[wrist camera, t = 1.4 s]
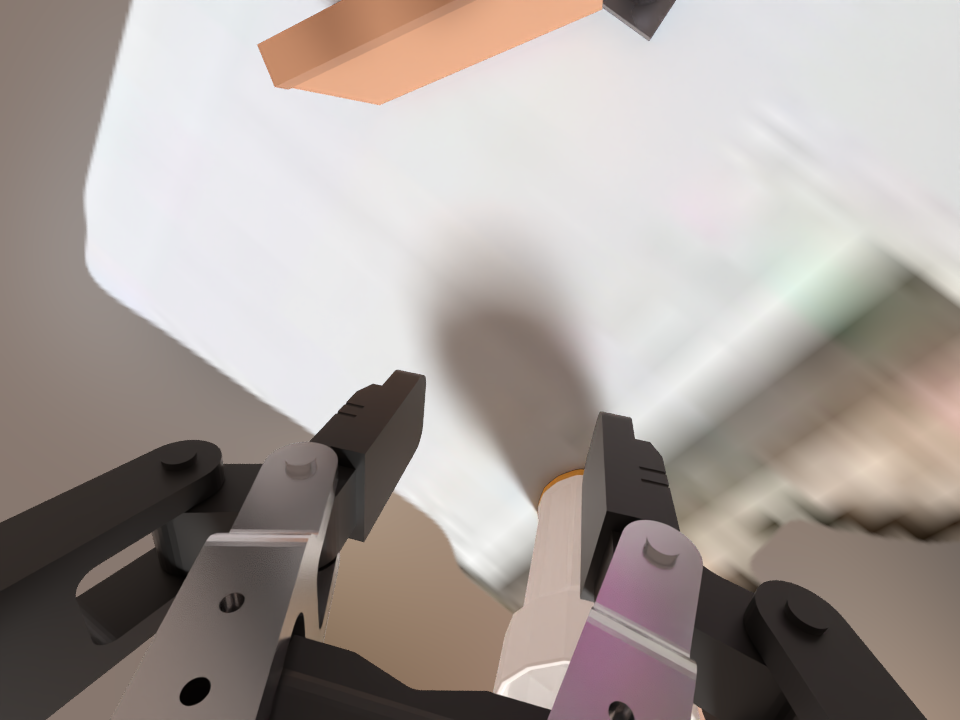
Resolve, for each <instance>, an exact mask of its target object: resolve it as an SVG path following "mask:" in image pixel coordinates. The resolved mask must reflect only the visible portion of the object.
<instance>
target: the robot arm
mask: <svg viewBox="0 0 960 720" xmlns="http://www.w3.org/2000/svg"><path fill="white" fill-rule="evenodd" d="M425 390H426V378H425V376H424V375H421V374H416V373H411V372H406V371H401V370H396V371H394V373H393V374H392V375H391V376H390V377H389V378H388V380H387V381H386V382H385V383H384V384H383V385H382V386H381V385H376V384H372V385H369V386H367V387H365V388H363V389H361V390H359V391H357V392H356V393H355V394H354V395H353V396H352V397H351V398H350V399H349V400H348V401H347V402H346V405H343V407H342V408H341V409H340V410H339V411H338V414H335V415H334V416H333V417H332V418H331V419H330V420H329V421H328V422H327V423H326V425H325V426H324V427H323V428H322V429H321V430H320V431H319V432H318V433H317V434H316V435H315V436H314V437H313V438H312V439H311V440H310V442H299V443H293V444H289V445H286V446H283V447H281V448H279V449H277V450H275V451H274V452H273V453H271V454H270V455H269V456H268V457H267V458H266V459H265V461H264V463H263V464H223V460H222V453H221V451H220V449H219V448H218V447H217V446H216V445H215V444H213V443H210V442H207V441H200V440H185V441H179V442H175V443H171V444H167V445H164V446H162V447H159V448H157V449H155V450H153V451H151V452H149V453H147V454H144V455H142V456H140V457H138V458H136V459H134V460H132V461H130V462H128V463H125V464H123V465H121V466H119V467H117V468H115V469H113V470H111V471H109V472H106V473H104V474H102V475H100V476H98V477H96V478H94V479H92V480H90V481H87V482H85V483H83V484H81V485H79V486H77V487H75V488H73V489H71V490H69V491H67V492H64V493H62V494H60V495H58V496H56V497H54V498H52V499H50V500H48V501H45V502H43V503H41V504H39V505H37V506H35V507H33V508H31V509H28V510H26V511H24V512H22V513H20V514H18V515H16V516H14V517H12V518H9V519H7V520H5V521H3V522H1V523H0V720H46V719H47V718H49V717H50V716H51V715H52V714H54V713H55V712H56V711H57V710H59V709H60V708H61V707H63V706H64V705H65V704H66V703H67V702H69V701H70V700H71V699H73V698H74V697H75V696H77V695H78V694H79V693H80V692H82V691H83V690H84V689H85V688H87V687H88V686H89V685H91V684H92V683H93V682H94V681H96V680H97V679H98V678H100V677H101V676H102V675H103V674H105V673H106V672H107V671H108V670H110V669H111V668H112V667H113V666H115V665H116V664H117V663H119V662H120V661H121V660H122V659H124V658H125V657H126V656H128V655H129V654H130V653H131V652H133V651H134V650H135V649H137V648H138V647H139V646H140V645H141V644H143V643H144V642H145V641H147V640H148V639H149V638H151V637H152V636H153V635H154V634H155V636H154V638H153V640H152V642H151V644H150V646H149V647H148V650H147V651H146V653H145V655H144V657H143V659H142V661H141V662H140V664H139V666H138V668H137V670H136V672H135V674H134V676H133V677H132V679H131V681H130V683H129V685H128V687H127V688H126V690H125V692H124V694H123V696H122V698H121V700H120V701H119V704H118V705H117V707H116V709H115V711H114V713H113V714H112V716H111V718H110V720H691V714H692V707H693V704H695V705H697V706H698V707H700V708H702V712H703V715H704V717H705V720H927V719H926V718H925V716H924V715H923V714H922V713H921V712H920V711H919V709H918V708H917V707H916V706H915V704H914V703H913V702H912V701H911V700H910V698H909V697H908V696H907V695H906V693H905V692H904V691H903V690H902V689H901V687H900V686H899V685H898V684H897V683H896V681H895V680H894V679H893V678H892V676H891V675H890V674H889V673H888V672H887V670H886V669H885V668H884V667H883V665H882V664H881V663H880V662H879V661H878V660H877V658H876V657H875V656H874V655H873V653H872V652H871V651H870V650H869V648H868V647H867V646H866V645H865V644H864V642H863V641H862V640H861V639H860V638H859V636H858V635H857V634H856V633H855V631H854V630H853V629H852V628H851V627H850V625H849V624H848V623H847V622H846V621H845V619H844V618H843V617H842V616H841V615H840V614H839V613H838V612H837V611H836V610H835V609H834V608H833V607H832V606H831V605H830V604H829V603H827V602H826V601H825V600H823V599H822V598H820V597H819V596H817V595H816V594H814V593H813V592H811V591H809V590H807V589H805V588H803V587H801V586H798V585H796V584H792V583H789V582H785V581H777V580H775V581H767V582H764V583H762V584H761V585H760V586H759V587H758V588H757V590H756V592H755V594H754V593H752V592H750V591H748V590H746V589H744V588H742V587H740V586H738V585H736V584H734V583H732V582H730V581H728V580H726V579H724V578H722V577H720V576H718V575H716V574H714V573H713V572H711V571H710V570H708V569H707V568H706V567H704V566H703V561H702V557H701V555H700V552H699V551H698V549H697V548H696V546H695V545H694V544H693V543H692V541H691V540H689V539H688V538H687V537H686V536H685V535H684V534H682V533H681V532H680V529H679V525H678V521H677V517H676V513H675V508H674V504H673V500H672V496H671V492H670V488H668V486H669V483H668V479H667V475H665V474H666V471H665V467H664V462H663V458H662V456H661V455H660V454H659V452H658V451H657V450H656V449H655V448H654V446H653V445H652V444H651V443H650V442H647V441H642V440H637V439H635V437H634V430H633V424H632V419H631V418H630V417H625V416H620V415H615V414H611V413H606V412H600V413H599V415H598V418H597V422H596V426H595V430H594V433H593V437H592V441H591V445H590V449H589V452H588V456H587V460H586V464H585V469H584V474H583V481H582V510H581V565H580V599H583V600H587V601H590V602H594V606H592V608H591V610H590V613H589V615H588V617H587V620H586V623H585V625H584V628H583V630H582V633H581V635H580V638H579V640H578V643H577V645H576V648H575V651H574V653H573V656H572V658H571V661H570V663H569V666H568V668H567V671H566V673H565V676H564V679H563V681H562V684H561V686H560V689H559V691H558V694H557V696H556V699H555V702H554V704H553V707H552V709H551V710H550V709H547V708H543V707H540V706H536V705H533V704H530V703H526V702H523V701H519V700H516V699H512V698H509V697H506V696H502V695H499V694H495V693H492V692H489V691H435V690H427V691H426V690H415V689H412V688H410V687H408V686H406V685H405V684H403V683H401V682H400V681H398V680H397V679H395V678H394V677H392V676H391V675H389V674H388V673H386V672H384V671H383V670H381V669H380V668H378V667H377V666H375V665H374V664H372V663H371V662H369V661H368V660H366V659H364V658H363V657H361V656H360V655H358V654H357V653H355V652H352V651H349V650H345V649H342V648H339V647H335V646H332V645H328V644H325V643H323V642H324V637H325V632H326V626H327V622H328V617H329V612H330V607H331V602H332V597H333V592H334V588H335V583H336V578H337V573H338V568H339V563H340V550H341V549H342V547H343V545H344V543H345V542H346V540H347V539H348V538H350V539H354V540H358V541H362V542H364V541H365V540H366V538H367V536H368V534H369V533H370V531H371V529H372V527H373V525H374V524H375V522H376V520H377V518H378V517H379V515H380V513H381V511H382V510H383V508H384V506H385V504H386V502H387V501H388V499H389V497H390V496H391V494H392V492H393V490H394V488H395V487H396V485H397V483H398V481H399V480H400V478H401V476H402V474H403V473H404V471H405V469H406V467H407V465H408V464H409V462H410V460H411V458H412V457H413V455H414V453H415V451H416V449H417V447H418V445H419V442H420V438H421V434H422V429H423V417H424V403H425ZM151 532H152V536H153V540H154V544H155V548H153V549H152V550H150V551H149V552H147V553H146V554H144V555H142V556H141V557H139V558H138V559H136V560H134V561H133V562H132V563H130V564H128V565H127V566H125V567H124V568H122V569H120V570H119V571H117V572H116V573H114V574H113V575H111V576H110V577H108V578H106V579H105V580H103V581H102V582H100V583H98V584H97V585H95V586H94V587H92V588H91V589H89V590H88V591H86V592H85V593H83V594H81V595H80V596H78V597H76V595H75V594H76V589H77V587H78V584H79V583H80V581H81V580H82V579H83V577H84V576H85V575H86V574H87V573H88V572H89V571H90V570H92V569H93V568H94V567H96V566H97V565H99V564H101V563H102V562H104V561H105V560H107V559H109V558H110V557H112V556H114V555H115V554H117V553H118V552H120V551H122V550H123V549H125V548H127V547H128V546H130V545H132V544H133V543H135V542H137V541H138V540H140V539H141V538H143V537H145V536H146V535H148V534H150V533H151Z"/></svg>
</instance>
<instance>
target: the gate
mask: <svg viewBox="0 0 960 720" xmlns="http://www.w3.org/2000/svg"><path fill="white" fill-rule="evenodd" d="M602 4H603V0H342V1H340V2H338V3H336V4H334V5H332V6H330V7H328V8H326V9H324V10H323V11H321V12H319V13H317V14H315V15H313V16H311V17H309V18H307V19H305V20H303V21H302V22H300V23H298V24H296V25H294V26H292V27H290V28H288V29H286V30H284V31H282V32H281V33H279V34H277V35H275V36H273V37H271V38H269V39H267V40H265V41H263V42H261V43H260V44H258V48H259V50H260V52H261V55H262V57H263V60H264V62H265V64H266V67H267V69H268V72H269V74H270V76H271V79H272V81H273V84H274V86H275V87H278V88H283V89H290V88H295V89H300V90H305V91H310V92H315V93H320V94H326V95H331V96H336V97H341V98H346V99H351V100H356V101H361V102H366V103H371V104H377V105H381V104H383V103H386V102H388V101H390V100H393V99H395V98H397V97H400V96H402V95H404V94H407V93H409V92H411V91H414V90H416V89H418V88H421V87H423V86H425V85H427V84H430V83H432V82H434V81H437V80H439V79H441V78H444V77H446V76H448V75H451V74H453V73H455V72H458V71H460V70H462V69H465V68H467V67H469V66H472V65H474V64H476V63H479V62H481V61H483V60H486V59H488V58H490V57H493V56H495V55H497V54H500V53H502V52H504V51H507V50H509V49H511V48H514V47H516V46H518V45H520V44H523V43H525V42H527V41H530V40H532V39H534V38H537V37H539V36H541V35H544V34H546V33H548V32H551V31H553V30H555V29H558V28H560V27H562V26H565V25H567V24H569V23H572V22H574V21H576V20H579V19H581V18H583V17H586V16H588V15H590V14H593V13H595V12H597V11H600V10H602Z"/></svg>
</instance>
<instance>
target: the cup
mask: <svg viewBox="0 0 960 720" xmlns="http://www.w3.org/2000/svg"><path fill="white" fill-rule="evenodd" d="M583 474H584V469H577V470H574V471H571V472H568V473H565V474H562V475H560V476H558V477H556V478H555V479H554V480H553V481H551V482H550V483H549V484H548V485H547V486H546V487H545V488H544V490H543V492H542V494H541V497H540V500H539V505H538V519H539V521H538V527H537V533H536V539H535V544H534V550H533V556H532V561H531V567H530V573H529V578H528V584H527V590H526V596H525V601H524V607H522V608H521V609H520V610H518V611H517V612H515V613H514V614H513V617H512V619H511V622H510V624H509V626H508V629H507V632H506V634H505V638H504V643H503V648H502V652H501V657H500V662H499V666H498V672H497V676H496V681H495V686H494V690H493V693H495V694H499V695H502V696H506V697H509V698H512V699H516V700H519V701H523V702H526V703H530V704H533V705H536V706H540V707H543V708H547V709H550V710H551V709H552V707H553V704H554V702H555V699H556V696H557V694H558V691H559V689H560V686H561V684H562V681H563V679H564V676H565V673H566V671H567V668H568V666H569V663H570V661H571V658H572V656H573V653H574V651H575V648H576V645H577V643H578V640H579V638H580V635H581V633H582V630H583V628H584V625H585V623H586V620H587V617H588V615H589V613H590V610H591V608H592V606H594V602H590V601H587V600H583V599H580V565H581V510H582V481H583ZM691 720H700V716H699V712H698V708H697V705H695V704H693V707H692V714H691Z"/></svg>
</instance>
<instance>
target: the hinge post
mask: <svg viewBox="0 0 960 720" xmlns="http://www.w3.org/2000/svg"><path fill="white" fill-rule="evenodd" d="M675 1H676V0H603V4H602V7H603V8H604V9H605V10H607V11H608V12H609V13H611V14H612V15H614V16H615V17H616V18H618V19H619V20H621V21H622V22H623V23H625V24H626V25H627V26H629V27H630V28H632V29H633V30H634V31H636V32H637V33H638V34H640V35H641V36H643V37H644V38H645V39H647V40H648V41H650V39H651V38H652V36H653V35H654V33H655V32H656V30H657V28H658V27H659V25H660V24H661V22H662V21H663V19H664V18H665V16H666V15H667V13H668V12H669V10H670V9H671V7H672V5H673V4H674V2H675Z"/></svg>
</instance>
